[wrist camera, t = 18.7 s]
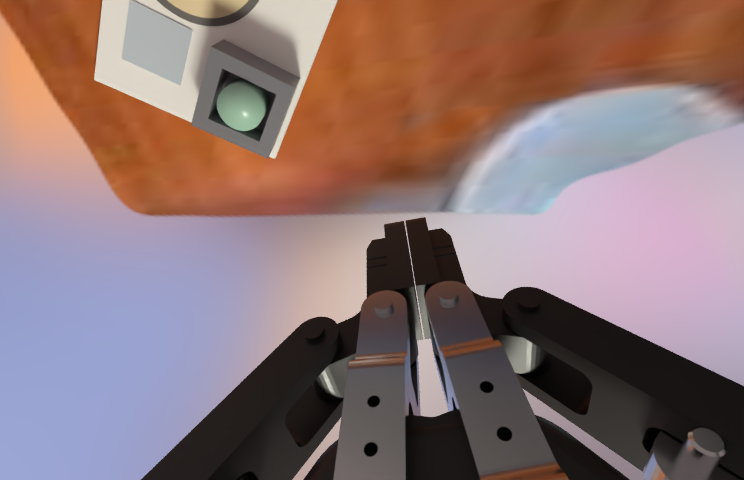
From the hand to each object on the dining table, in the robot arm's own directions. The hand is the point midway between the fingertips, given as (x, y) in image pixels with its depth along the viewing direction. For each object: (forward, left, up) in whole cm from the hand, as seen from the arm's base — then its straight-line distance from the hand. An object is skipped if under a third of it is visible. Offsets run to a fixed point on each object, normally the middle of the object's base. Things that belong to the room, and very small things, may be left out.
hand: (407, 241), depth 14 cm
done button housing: (+7, -10, -27) cm, 30 cm away
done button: (+7, -10, -25) cm, 28 cm away
